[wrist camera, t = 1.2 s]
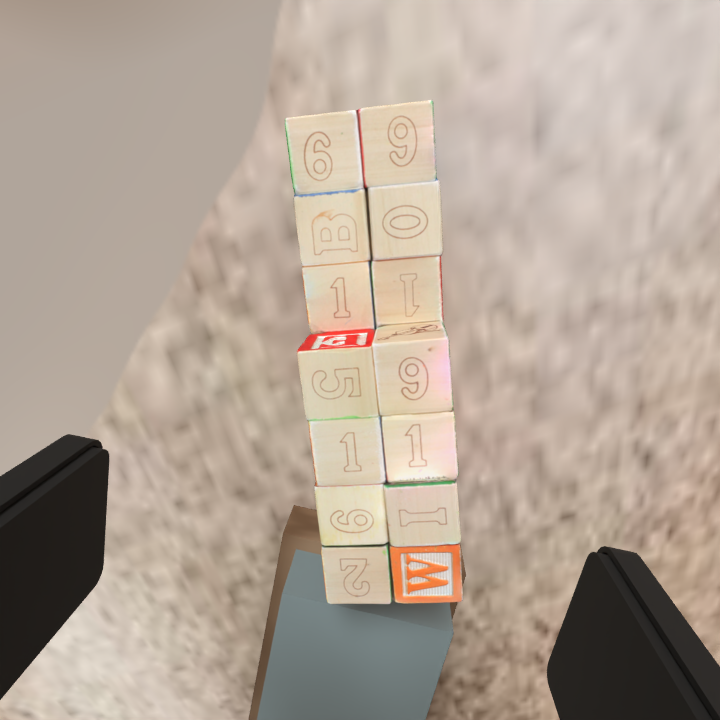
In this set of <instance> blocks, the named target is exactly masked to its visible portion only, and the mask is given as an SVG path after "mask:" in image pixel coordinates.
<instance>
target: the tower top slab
mask: <svg viewBox="0 0 720 720" xmlns="http://www.w3.org/2000/svg"><path fill="white" fill-rule="evenodd" d="M453 633H454V632H453V624H452V617H451V609H450V602H443V603H397V602H395V601H394V600H392V602H391V603H390V604H330V603H328V602H327V599H326V592H325V583H324V574H323V565H322V556H321V555H320V554H315V553H311V552H307V551H302V550H298V549H296V551H295V554H294V557H293V561H292V564H291V567H290V570H289V573H288V576H287V580H286V583H285V586H284V589H283V592H282V597H281V602H280V607H279V612H278V617H277V622H276V627H275V632H274V637H273V642H272V647H271V652H270V657H269V662H268V667H267V672H266V677H265V681H264V686H263V691H262V696H261V701H260V706H259V711H258V716H257V720H426V717H427V713H428V710H429V707H430V704H431V701H432V698H433V695H434V692H435V689H436V686H437V683H438V679H439V676H440V673H441V670H442V667H443V664H444V661H445V658H446V655H447V652H448V649H449V645H450V642H451V639H452V636H453Z"/></svg>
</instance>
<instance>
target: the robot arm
mask: <svg viewBox="0 0 720 720" xmlns="http://www.w3.org/2000/svg"><path fill="white" fill-rule="evenodd" d="M108 473H109V453H108V451H107V450H105V449H102V444H101V442H100V441H99V440H95V439H90V438H85V437H80V436H75V435H69V434H68V435H65V436H63V437H61V438H60V439H58V440H57V441H55V442H54V443H52V444H50V445H49V446H47V447H46V448H44V449H43V450H41V451H40V452H38V453H36V454H35V455H33V456H32V457H30V458H29V459H27V460H26V461H24V462H22V463H21V464H19V465H17V466H16V467H14V468H13V469H11V470H10V471H8V472H6V473H5V474H3V475H2V476H0V700H1V698H2V697H3V696H4V695H5V694H6V692H7V691H8V690H9V689H10V688H11V686H12V685H13V684H14V683H15V682H16V680H17V679H18V678H19V677H20V676H21V675H22V673H23V672H24V671H25V670H26V669H27V667H28V666H29V665H30V664H31V663H32V661H33V660H34V659H35V658H36V657H37V655H38V654H39V653H40V652H41V651H42V649H43V648H44V647H45V646H46V645H47V643H48V642H49V641H50V640H51V639H52V637H53V636H54V635H55V634H56V633H57V631H58V630H59V629H60V628H61V627H62V625H63V624H64V623H65V622H66V621H67V619H68V618H69V617H70V616H71V615H72V613H73V612H74V611H75V610H76V609H77V607H78V606H79V605H80V604H81V603H82V601H83V600H84V599H85V598H86V597H87V596H88V594H89V593H90V592H91V591H92V590H93V588H94V587H95V586H96V584H97V582H98V581H99V579H100V576H101V574H102V570H103V564H104V545H105V527H106V509H107V491H108ZM547 678H548V684H549V688H550V691H551V694H552V697H553V700H554V703H555V706H556V709H557V712H558V715H559V718H560V720H720V666H719V665H718V664H717V662H716V661H715V660H714V658H713V657H712V655H711V654H710V653H709V651H708V650H707V649H706V647H705V646H704V644H703V643H702V642H701V640H700V639H699V637H698V636H697V635H696V633H695V632H694V631H693V629H692V628H691V626H690V625H689V624H688V622H687V621H686V620H685V618H684V617H683V615H682V614H681V613H680V611H679V610H678V608H677V607H676V606H675V604H674V603H673V602H672V600H671V599H670V597H669V596H668V595H667V593H666V592H665V591H664V589H663V588H662V586H661V585H660V584H659V582H658V581H657V579H656V578H655V577H654V575H653V574H652V573H651V571H650V570H649V568H648V567H647V566H646V564H645V563H644V562H643V560H642V559H641V557H640V556H639V555H638V554H637V553H634V552H630V551H625V550H620V549H615V548H611V547H606V546H604V547H601V548H600V549H599V550H598V552H597V553H596V552H591V553H590V554H589V555H588V557H587V559H586V562H585V565H584V567H583V570H582V573H581V575H580V578H579V581H578V584H577V586H576V589H575V592H574V594H573V597H572V600H571V602H570V605H569V608H568V610H567V613H566V616H565V619H564V621H563V624H562V627H561V629H560V632H559V635H558V637H557V640H556V643H555V645H554V648H553V651H552V654H551V656H550V659H549V662H548V667H547Z"/></svg>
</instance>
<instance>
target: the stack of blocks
mask: <svg viewBox="0 0 720 720" xmlns="http://www.w3.org/2000/svg"><path fill="white" fill-rule="evenodd" d="M285 129H286V137H287V145H288V152H289V160H290V170H291V177H292V183H293V189H294V193H295V195H294V198H293V199H294V210H295V218H296V226H297V234H298V241H299V249H300V258H301V264H302V278H303V286H304V294H305V300H306V307H307V315H308V322H309V327H310V331H311V333H312V334H311V335H309V336H308V337H307V338H306V340H305V341H304V342H303V344H302V345H301V346H300V348H299V349H298V351H297V357H298V364H299V371H300V379H301V386H302V393H303V401H304V408H305V416H306V419H307V420H308V423H309V432H310V441H311V449H312V455H313V464H314V472H315V479H316V482H315V485H314V491H315V499H316V507H317V515H318V523H319V532H320V540H321V544H322V548H321V556H322V565H323V574H324V583H325V592H326V599H327V602H328V603H330V604H390V603H391V602H392V600H394V601H395V602H397V603H443V602H461V601H463V590H462V573H461V550H460V541H461V532H460V519H459V504H458V491H457V483H456V478H457V477H458V474H459V471H458V457H457V441H456V426H455V416H454V411H453V393H452V378H451V362H450V349H449V339H448V336H447V333H446V330H445V326H444V324H443V299H442V274H441V255H442V253H443V235H442V211H441V191H440V182H439V180H438V179H437V177H436V152H435V131H434V106H433V101H432V100H429V101H419V102H410V103H402V104H394V105H385V106H375V107H367V108H360V109H358V110H353V111H342V112H332V113H323V114H317V115H306V116H298V117H290V118H286V119H285Z"/></svg>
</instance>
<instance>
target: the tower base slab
mask: <svg viewBox="0 0 720 720" xmlns="http://www.w3.org/2000/svg"><path fill="white" fill-rule="evenodd" d="M321 548H322V544H321V540H320V532H319V523H318V515H317V510H313V509H308V508H304V507H300V506H295V505H294V506H293V509H292V512H291V514H290V517H289V519H288V522H287V525H286V527H285V530H284V532H283V537H282V542H281V548H280V553H279V558H278V564H277V569H276V575H275V580H274V585H273V591H272V596H271V602H270V607H269V612H268V618H267V623H266V629H265V634H264V639H263V645H262V650H261V656H260V661H259V666H258V672H257V677H256V683H255V688H254V693H253V699H252V704H251V710H250V715H249V720H257V716H258V711H259V706H260V701H261V696H262V691H263V686H264V681H265V677H266V672H267V667H268V662H269V657H270V652H271V647H272V642H273V637H274V632H275V627H276V622H277V617H278V612H279V607H280V602H281V597H282V592H283V589H284V586H285V583H286V580H287V576H288V573H289V570H290V567H291V564H292V561H293V557H294V554H295V551H296V549H298V550H302V551H307V552H311V553H315V554H320V555H321ZM460 550H461V545H460ZM461 573H462V586H463V583H464V580H465V577H466V573H465V567H464V562H463V556H462V551H461ZM456 605H457V602H450V609H451V617H452V618H453V615H454V612H455V609H456Z"/></svg>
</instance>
